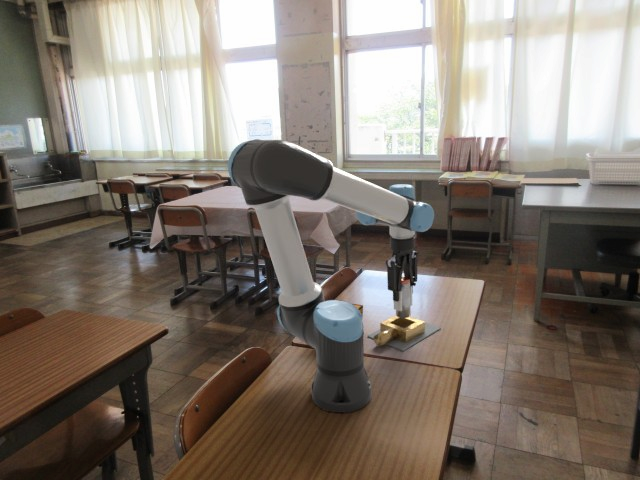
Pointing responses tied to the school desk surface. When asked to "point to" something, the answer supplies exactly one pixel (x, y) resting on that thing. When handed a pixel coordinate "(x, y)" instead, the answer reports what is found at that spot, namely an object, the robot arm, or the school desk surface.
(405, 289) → the copper-capped silver cylinder
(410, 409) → the school desk surface
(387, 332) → the fitting socket
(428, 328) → the mat
